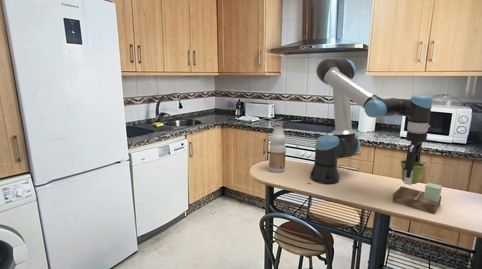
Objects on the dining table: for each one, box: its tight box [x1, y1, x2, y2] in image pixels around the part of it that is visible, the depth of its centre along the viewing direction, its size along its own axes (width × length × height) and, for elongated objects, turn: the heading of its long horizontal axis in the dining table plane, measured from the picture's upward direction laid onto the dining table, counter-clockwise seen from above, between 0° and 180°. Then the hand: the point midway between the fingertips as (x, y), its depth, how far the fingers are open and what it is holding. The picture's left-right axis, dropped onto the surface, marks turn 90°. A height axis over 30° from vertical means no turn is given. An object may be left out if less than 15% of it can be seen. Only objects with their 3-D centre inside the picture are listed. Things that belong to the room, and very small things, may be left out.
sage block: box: [424, 182, 443, 202], centre depth 120 cm, size 5×5×6 cm
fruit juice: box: [268, 122, 287, 174], centre depth 164 cm, size 9×9×28 cm
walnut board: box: [392, 186, 442, 215], centre depth 125 cm, size 16×12×4 cm
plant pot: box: [399, 159, 426, 185], centre depth 125 cm, size 9×9×9 cm
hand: (410, 181), depth 126 cm, fingers closed on plant pot, 8 cm apart
